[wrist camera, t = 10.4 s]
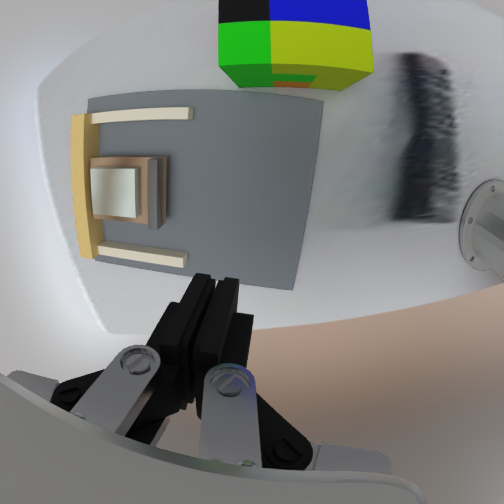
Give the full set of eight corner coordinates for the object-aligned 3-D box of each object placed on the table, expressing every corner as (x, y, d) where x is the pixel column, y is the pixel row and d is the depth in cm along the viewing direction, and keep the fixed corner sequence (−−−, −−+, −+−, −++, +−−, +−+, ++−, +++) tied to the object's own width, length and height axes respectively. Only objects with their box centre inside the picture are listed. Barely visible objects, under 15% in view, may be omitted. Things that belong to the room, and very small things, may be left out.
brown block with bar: (171, 155, 26) (157, 159, 23) (169, 218, 29) (157, 230, 26) (101, 155, 27) (82, 159, 23) (103, 212, 30) (86, 222, 26)
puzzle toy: (335, 8, 18) (359, -37, 9) (341, 90, 23) (373, 72, 14) (238, 5, 19) (219, -42, 10) (239, 87, 23) (218, 66, 14)
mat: (322, 101, 23) (329, 98, 20) (292, 288, 32) (293, 305, 29) (90, 99, 24) (72, 98, 21) (97, 259, 33) (83, 271, 30)
